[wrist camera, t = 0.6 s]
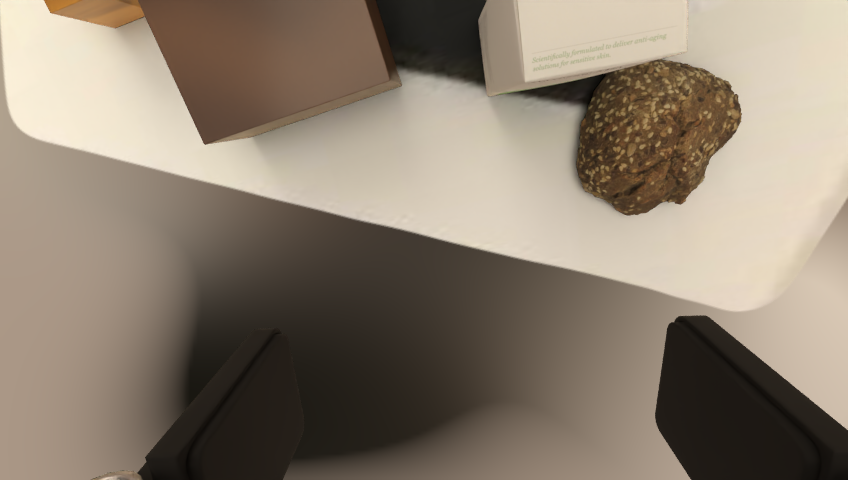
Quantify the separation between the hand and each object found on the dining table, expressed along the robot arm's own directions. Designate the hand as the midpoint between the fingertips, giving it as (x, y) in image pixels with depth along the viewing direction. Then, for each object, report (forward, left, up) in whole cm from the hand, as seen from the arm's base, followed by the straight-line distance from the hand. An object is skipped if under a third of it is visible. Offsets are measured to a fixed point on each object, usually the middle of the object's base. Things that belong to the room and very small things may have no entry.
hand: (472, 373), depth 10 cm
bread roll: (-3, +17, -29) cm, 34 cm away
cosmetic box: (-11, +7, -29) cm, 32 cm away
